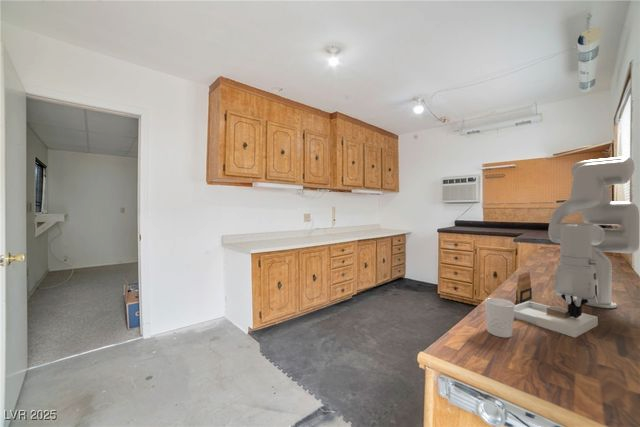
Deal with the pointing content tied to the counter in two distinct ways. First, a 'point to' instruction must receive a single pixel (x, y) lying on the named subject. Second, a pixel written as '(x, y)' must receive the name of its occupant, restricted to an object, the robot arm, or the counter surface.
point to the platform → (568, 323)
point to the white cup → (499, 316)
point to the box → (529, 311)
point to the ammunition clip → (523, 288)
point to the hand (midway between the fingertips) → (574, 316)
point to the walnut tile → (558, 311)
